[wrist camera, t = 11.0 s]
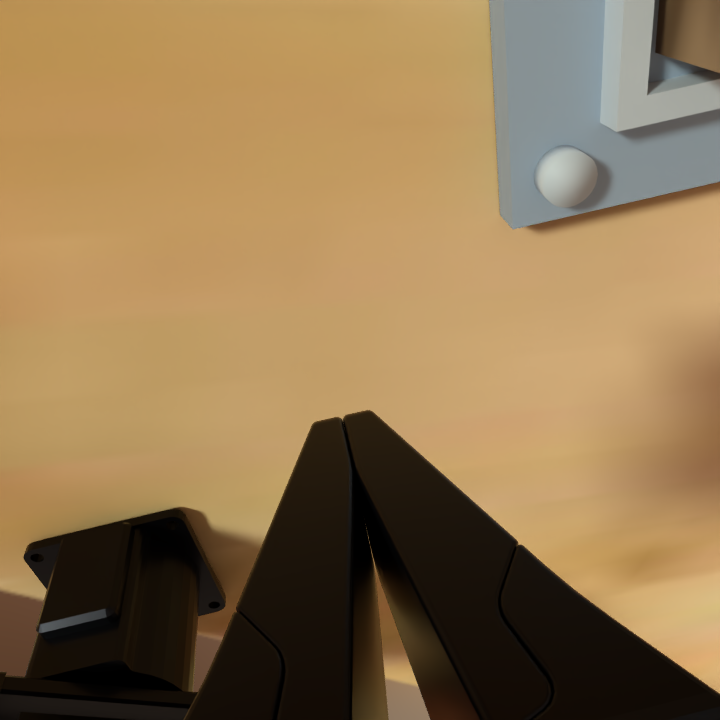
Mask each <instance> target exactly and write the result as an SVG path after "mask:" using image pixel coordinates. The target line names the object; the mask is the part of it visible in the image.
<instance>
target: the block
mask: <svg viewBox="0 0 720 720" xmlns="http://www.w3.org/2000/svg"><path fill="white" fill-rule="evenodd" d="M655 53H657V54H661V55H664V56H667V57H670V58H673V59H676V60H680V61H683V62H686V63H689V64H692V65H695V66H699V67H702V68H705V69H708V70H711V71H714V72H717V73H720V0H659V10H658V22H657V35H656V48H655Z"/></svg>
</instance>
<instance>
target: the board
mask: <svg viewBox="0 0 720 720" xmlns="http://www.w3.org/2000/svg"><path fill="white" fill-rule="evenodd" d="M489 5H490V24H491V44H492V64H493V84H494V103H495V123H496V143H497V162H498V182H499V202H500V215H501V217H502V218H503V219H504V220H505V221H506V222H507V223H508V224H509V226H510V227H511V228H512V229H517V228H521V227H525V226H530V225H534V224H538V223H543V222H547V221H551V220H556V219H560V218H564V217H569V216H573V215H577V214H582V213H586V212H590V211H595V210H599V209H603V208H608V207H612V206H616V205H621V204H625V203H629V202H634V201H638V200H642V199H647V198H651V197H655V196H660V195H664V194H668V193H673V192H677V191H681V190H686V189H690V188H694V187H699V186H703V185H707V184H712V183H716V182H720V73H717V72H714V71H711V70H708V69H705V68H702V67H699V66H695V65H692V64H689V63H686V62H683V61H680V60H676V59H673V58H670V57H667V56H664V55H661V54H657V53H655V48H656V35H657V22H658V10H659V0H489Z"/></svg>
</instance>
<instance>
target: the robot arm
mask: <svg viewBox="0 0 720 720" xmlns="http://www.w3.org/2000/svg"><path fill="white" fill-rule="evenodd" d="M343 423H344V424H343ZM344 428H345V429H344ZM345 432H346V433H345ZM364 519H365V520H364ZM170 521H175V522H170ZM366 528H367V529H366ZM367 533H368V534H367ZM368 537H369V538H368ZM369 542H370V543H369ZM370 546H371V548H370ZM371 551H372V553H371ZM372 555H373V558H374V562H375V566H376V569H377V572H378V575H379V579H380V582H381V584H382V587H383V590H384V593H385V595H386V598H387V601H388V604H389V606H390V609H391V612H392V615H393V617H394V620H395V623H396V626H397V628H398V631H399V634H400V637H401V640H402V642H403V645H404V648H405V651H406V653H407V656H408V659H409V662H410V664H411V667H412V670H413V673H414V675H415V678H416V681H417V684H418V686H419V689H420V692H421V695H422V697H423V700H424V702H425V706H426V708H427V711H428V714H429V717H430V719H431V720H720V694H719V693H718V692H716V691H715V690H714V689H712V688H711V687H709V686H708V685H706V684H705V683H704V682H702V681H701V680H699V679H698V678H697V677H695V676H694V675H692V674H691V673H689V672H688V671H687V670H685V669H684V668H682V667H681V666H680V665H678V664H677V663H675V662H674V661H672V660H671V659H670V658H668V657H667V656H665V655H664V654H663V653H661V652H660V651H658V650H657V649H655V648H654V647H653V646H651V645H650V644H648V643H647V642H646V641H644V640H643V639H641V638H640V637H639V636H637V635H636V634H634V633H633V632H631V631H630V630H629V629H627V628H626V627H624V626H623V625H622V624H620V623H619V622H617V621H616V620H614V619H613V618H612V617H610V616H609V615H608V614H606V613H605V612H604V611H602V610H601V609H600V608H598V607H597V606H596V605H594V604H593V603H591V602H590V601H589V600H587V599H586V598H585V597H583V596H582V595H581V594H579V593H578V592H577V591H575V590H574V589H573V588H572V587H571V586H569V585H568V584H567V583H566V582H565V581H563V580H562V579H561V578H560V577H559V576H557V575H556V574H555V573H554V572H553V571H551V570H550V569H549V568H548V567H547V566H545V565H544V564H543V563H542V562H541V561H540V560H539V559H538V558H536V557H535V556H534V555H533V554H532V553H531V552H530V551H529V550H528V549H526V548H525V547H524V546H523V545H518V541H517V540H516V539H515V538H514V537H513V536H511V535H510V534H509V533H508V532H507V531H506V530H505V529H504V528H503V527H501V526H500V525H499V524H498V523H497V522H496V521H495V520H494V519H492V518H491V517H490V516H489V515H488V514H487V513H486V512H485V511H483V510H482V509H481V508H480V507H479V506H478V505H477V504H476V503H474V502H473V501H472V500H471V499H470V498H469V497H468V496H467V495H466V494H464V493H463V492H462V491H461V490H460V489H459V488H458V487H457V486H455V485H454V484H453V483H452V482H451V481H450V480H449V479H448V478H446V477H445V476H444V475H443V474H442V473H441V472H440V471H439V470H438V469H436V468H435V467H434V466H433V465H432V464H431V463H430V462H429V461H427V460H426V459H425V458H424V457H423V456H422V455H421V454H420V453H418V452H417V451H416V450H415V449H414V448H413V447H412V446H411V445H410V444H408V443H407V442H406V441H405V440H404V439H403V438H402V437H401V436H399V435H398V434H397V433H396V432H395V431H394V430H393V429H392V428H390V427H389V426H388V425H387V424H386V423H385V422H384V421H383V420H382V419H380V418H379V417H378V416H377V415H376V414H375V413H374V412H372V411H370V410H366V411H361V412H357V413H352V414H348V415H345V416H344V418H343V421H342V419H341V418H339V417H334V418H330V419H325V420H321V421H317V422H314V423H313V424H312V426H311V429H310V431H309V433H308V436H307V438H306V441H305V443H304V445H303V448H302V450H301V453H300V455H299V457H298V460H297V462H296V465H295V467H294V469H293V472H292V474H291V477H290V479H289V481H288V484H287V486H286V489H285V491H284V494H283V496H282V498H281V501H280V503H279V506H278V508H277V510H276V513H275V515H274V518H273V520H272V522H271V525H270V527H269V530H268V532H267V534H266V537H265V539H264V542H263V544H262V546H261V549H260V551H259V554H258V556H257V558H256V561H255V563H254V566H253V568H252V571H251V573H250V575H249V578H248V580H247V583H246V585H245V587H244V590H243V592H242V595H241V597H240V599H239V602H238V604H237V607H236V610H237V612H235V613H234V614H233V615H232V618H231V620H230V623H229V625H228V628H227V630H226V632H225V635H224V637H223V640H222V642H221V644H220V647H219V649H218V651H217V653H216V655H215V658H214V660H213V662H212V664H211V667H210V669H209V671H208V673H207V675H206V677H205V679H204V682H203V683H202V685H201V687H200V689H199V691H198V692H193V689H194V671H195V656H196V640H197V624H198V616H201V615H205V614H209V613H213V612H217V611H220V610H222V609H223V608H224V607H225V602H226V597H225V593H224V591H223V589H222V587H221V585H220V583H219V581H218V579H217V577H216V575H215V573H214V571H213V569H212V567H211V565H210V563H209V561H208V559H207V557H206V555H205V553H204V551H203V549H202V547H201V545H200V543H199V541H198V539H197V537H196V535H195V533H194V531H193V529H192V527H191V525H190V523H189V521H188V519H187V517H186V515H185V514H184V513H183V512H182V511H180V510H175V509H172V510H166V511H162V512H158V513H154V514H150V515H145V516H141V517H137V518H133V519H129V520H124V521H120V522H116V523H112V524H108V525H103V526H99V527H95V528H91V529H87V530H82V531H78V532H74V533H70V534H66V535H62V536H57V537H53V538H49V539H45V540H41V541H36V542H33V543H31V544H29V545H28V546H27V548H26V551H25V554H24V560H25V562H26V563H27V564H28V565H29V567H30V568H31V569H32V571H33V572H34V573H35V575H36V576H37V577H38V579H39V580H40V581H41V583H42V584H43V585H44V586H45V588H46V589H47V591H46V595H45V598H44V602H43V605H42V609H41V612H40V616H39V619H38V623H37V627H36V631H37V632H38V633H37V636H36V640H35V644H34V647H33V650H32V654H31V657H30V661H29V664H28V668H27V671H26V675H25V677H20V676H8V675H6V672H0V720H388V708H387V697H386V686H385V675H384V664H383V653H382V641H381V630H380V619H379V608H378V597H377V586H376V577H375V569H374V563H373V558H372Z"/></svg>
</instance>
